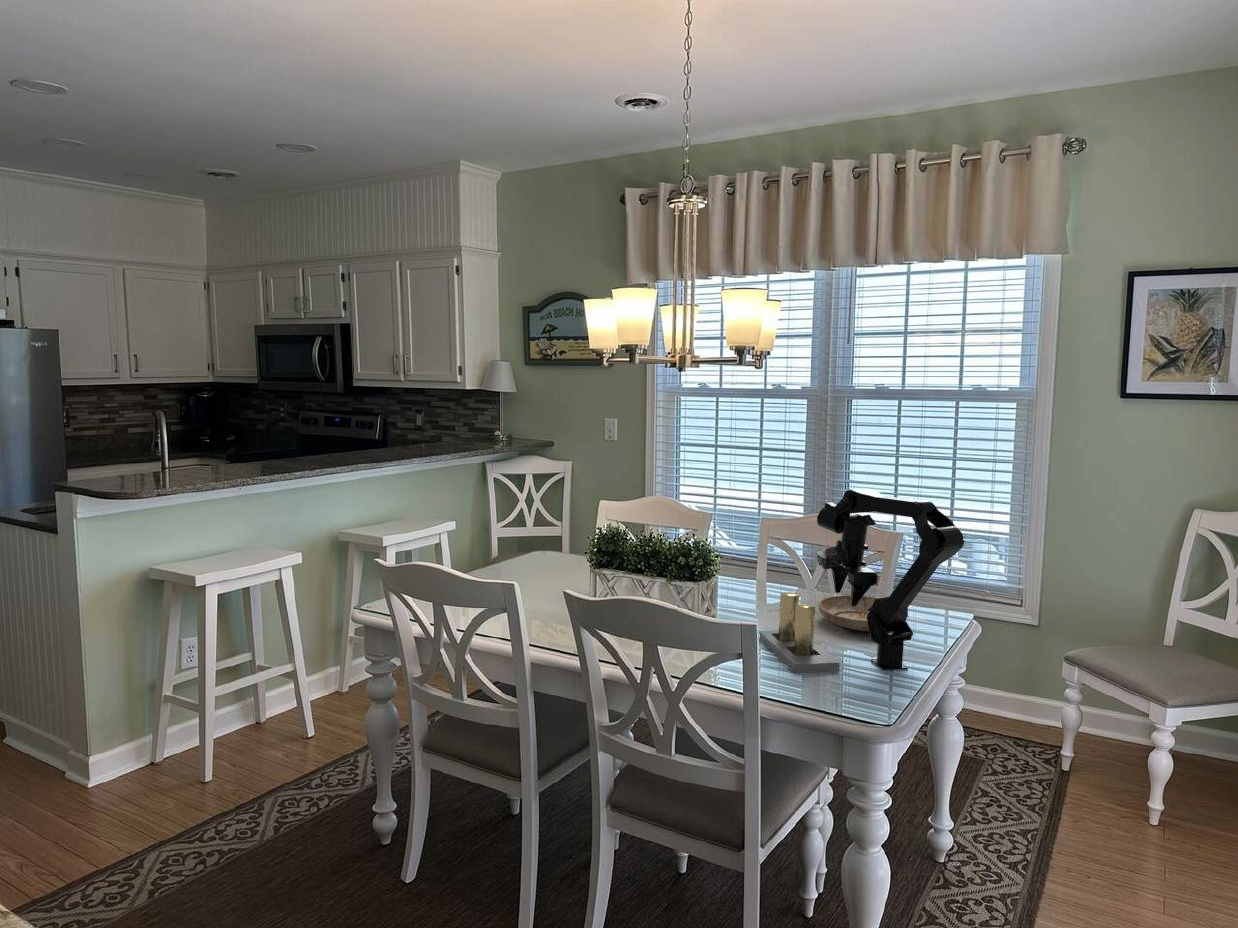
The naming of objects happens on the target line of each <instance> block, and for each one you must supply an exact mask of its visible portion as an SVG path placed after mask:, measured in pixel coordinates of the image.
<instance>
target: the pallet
mask: <svg viewBox="0 0 1238 928" xmlns="http://www.w3.org/2000/svg"><path fill="white" fill-rule="evenodd" d="M778 633H779V629H777V630H775V629H773V630H759V631H758V635H759V634H760V639H759V641H760V642H762V643H763V644H764V645H765V646H766V647H767V648H768V649H769V650H770V651H771V652H772V653H774V655H775V656H776V657H777V658H778V659H779V660H780V661H782V663H784V665H786V666H787V667H788V668H789V669H790V670H791V672H793V673H797V674H798V673H799V674H801V673H819V672H821V673H822V672H839V671H840V667H841V666H840V665H841V662H840V661H838V659H836V658H835V657H834V656H833V655H831V654H830V653H829V652H828V651H827V650H825V649H824V648H823V647H822V646H820V645H819V644H818V643H816V642H815V641H814V643H813V655H810V656H795V655H794V642H779V641H778Z"/></svg>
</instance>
